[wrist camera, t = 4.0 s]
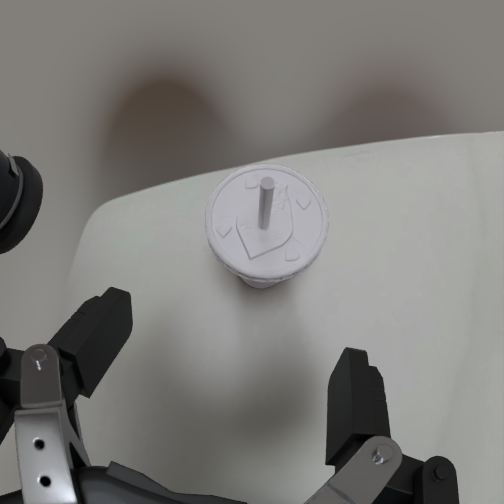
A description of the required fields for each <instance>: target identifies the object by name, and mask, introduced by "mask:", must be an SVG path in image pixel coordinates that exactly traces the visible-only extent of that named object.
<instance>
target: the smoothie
mask: <svg viewBox="0 0 504 504" xmlns="http://www.w3.org/2000/svg"><path fill="white" fill-rule="evenodd" d="M328 225H329V219H328V211H327V208H326V204H325V202H324V199H323V197H322V196H321V194H320V192H319V191H318V189H317V188H316V187H315V186H314V185H313V184H312V182H310V181H309V180H308V179H307V178H306V177H304V176H303V175H301V174H300V173H298V172H296V171H294V170H292V169H290V168H287V167H284V166H280V165H274V164H257V165H251V166H247V167H244V168H242V169H239V170H237V171H235V172H233V173H232V174H230V175H228V176H227V177H226V178H225V179H223V180H222V181H221V182H220V183H219V185H218V186H217V187H216V188H215V190H214V191H213V193H212V194H211V196H210V198H209V201H208V204H207V207H206V212H205V228H206V234H207V238H208V241H209V245H210V247H211V249H212V251H213V252H214V254H215V256H216V258H217V259H218V260H219V261H220V262H221V263H222V264H223V265H224V266H225V267H226V268H227V269H228V270H229V271H231V272H233V273H234V274H236V275H238V276H240V277H241V278H242V279H243V280H244V281H245V282H246V283H247V284H248V285H250V286H252V287H255V288H269V287H271V286H273V285H275V284H276V283H278V282H280V281H283V280H287V279H290V278H293V277H295V276H296V275H298V274H300V273H301V272H303V271H305V270H306V269H307V268H308V267H309V266H310V265H311V264H312V263H313V262H314V261H315V260H316V259H317V257H318V255H319V253H320V251H321V249H322V247H323V245H324V243H325V240H326V237H327V233H328Z"/></svg>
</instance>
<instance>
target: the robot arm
mask: <svg viewBox="0 0 504 504" xmlns="http://www.w3.org/2000/svg"><path fill="white" fill-rule="evenodd" d="M8 156H9V158H8V157H7V156H6V155H5V154H4V153H3V152H2V151H1V150H0V232H1V231H3V230H4V229H5V228H6V227H7V226H8V224H9V223H10V222H11V220H12V219H13V217H14V216H15V214H16V212H17V210H18V208H19V206H20V204H21V201H22V198H23V194H24V189H25V177H24V173H23V171H22V170H21V168H20V167H19V166H18V165H17V164H15V161H14V159H13V158H12V157H11V156H10V155H9V154H8ZM132 326H133V319H132V306H131V295H130V293H129V292H127V291H123V290H120V289H117V288H114V287H110V288H108V289H107V291H106V292H105V293H104V294H103V295H102V296H101V297H99V296H95V297H93V298H91V299H89V300H87V301H85V302H84V303H83V304H82V305H81V306H80V308H79V309H78V310H77V312H75V313H74V314H73V315H72V316H71V319H69V320H68V321H67V322H66V323H65V324H64V325H63V326H62V327H61V329H60V330H59V331H58V332H57V333H56V334H55V335H54V337H53V338H52V339H51V340H50V341H49V342H48V343H47V344H36V345H33V346H31V347H30V348H28V349H27V350H26V351H21V350H16V349H10V348H7V347H6V344H5V342H4V340H3V339H2V338H1V337H0V445H1V443H2V441H3V440H4V438H5V436H6V434H7V432H8V431H9V429H10V427H11V426H12V424H13V423H14V421H15V438H16V450H17V460H18V468H19V476H20V483H21V489H20V490H17V491H14V492H11V493H8V494H5V495H2V496H0V504H247V503H245V502H240V501H236V500H231V499H226V498H222V497H218V496H214V495H197V494H182V493H175V492H172V491H170V490H168V489H167V488H165V487H163V486H162V485H160V484H158V483H157V482H155V481H154V480H152V479H150V478H149V477H147V476H146V475H144V474H143V473H140V472H138V471H135V470H133V469H130V468H128V467H125V466H123V465H120V464H118V463H116V462H113V461H111V462H110V465H109V467H104V466H91V464H90V460H89V457H88V455H87V452H86V450H85V446H84V443H83V438H82V433H81V428H80V423H79V417H78V412H77V405H76V401H75V400H76V398H77V397H78V395H79V394H81V395H83V396H85V397H87V398H90V396H91V395H92V393H93V392H94V390H95V388H96V387H97V385H98V384H99V382H100V381H101V379H102V378H103V376H104V374H105V373H106V371H107V370H108V368H109V367H110V365H111V364H112V362H113V361H114V359H115V358H116V356H117V355H118V353H119V352H120V350H121V349H122V347H123V346H124V344H125V343H126V341H127V340H128V338H129V336H130V334H131V331H132ZM384 390H385V389H384V382H383V377H382V376H381V374H380V372H379V371H378V369H377V367H374V366H369V363H368V356H367V352H366V351H365V350H359V349H354V348H348V347H346V348H345V349H344V351H343V353H342V355H341V357H340V359H339V360H338V362H337V364H336V366H335V368H334V370H333V372H332V374H331V377H330V380H329V384H328V402H327V439H326V461H325V465H332V466H335V474H334V475H333V476H332V477H331V478H330V479H329V480H328V481H327V482H326V483H325V484H324V485H323V486H322V487H321V488H320V489H319V490H318V491H317V492H316V493H315V494H314V495H312V496H311V497H310V498H309V499H308V500H307V501H306V502H305V503H304V504H459V495H458V484H457V475H456V470H455V467H454V465H453V464H452V463H451V461H449V460H448V459H447V458H445V457H442V456H434V457H431V458H430V459H428V460H427V461H426V462H423V461H420V460H417V459H414V458H411V457H408V456H406V455H404V454H402V452H401V449H400V447H399V446H398V444H397V443H396V442H395V441H394V440H392V439H391V435H390V426H389V418H388V410H387V403H386V396H385V392H384Z"/></svg>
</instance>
